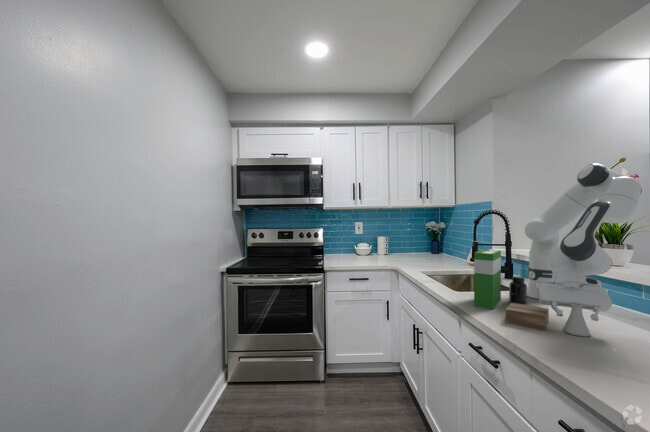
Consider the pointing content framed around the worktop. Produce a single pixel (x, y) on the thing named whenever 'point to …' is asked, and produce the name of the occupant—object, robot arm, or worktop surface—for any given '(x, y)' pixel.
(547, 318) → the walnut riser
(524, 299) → the supplement bottle
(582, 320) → the flask
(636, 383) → the worktop surface
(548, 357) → the worktop surface
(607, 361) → the worktop surface
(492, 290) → the hardback book
